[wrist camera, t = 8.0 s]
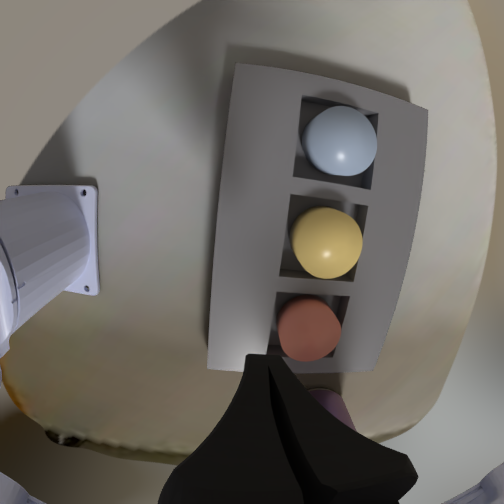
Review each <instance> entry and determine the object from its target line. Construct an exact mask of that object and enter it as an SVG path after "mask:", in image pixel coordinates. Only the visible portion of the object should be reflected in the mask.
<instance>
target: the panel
mask: <svg viewBox="0 0 504 504" xmlns="http://www.w3.org/2000/svg"><path fill="white" fill-rule="evenodd" d="M335 106H346V107H350V108H353V109H355V110H357V111H359V112H361V113H362V114H363V115H364V116H365V117H366V118H367V119H368V120H369V121H370V123H371V124H372V126H373V128H374V130H375V133H376V138H377V151H376V155H375V158H374V160H373V162H372V163H371V165H370V166H369V167H368V168H367V169H366V170H364V171H363V172H361V173H359V174H356V175H351V176H342V175H329V174H325V173H323V172H321V171H319V170H317V169H316V168H314V167H313V166H312V165H311V164H310V162H309V161H308V160H307V158H306V156H305V154H304V151H303V147H302V135H303V132H304V129H305V127H306V125H307V124H308V123H309V122H310V120H312V119H313V118H314V117H316V116H317V115H319V114H320V113H322V112H323V111H325V110H327V109H329V108H331V107H335ZM427 128H428V110H427V109H425V108H422V107H420V106H417V105H415V104H412V103H410V102H407V101H404V100H402V99H399V98H396V97H393V96H390V95H387V94H384V93H381V92H378V91H375V90H372V89H369V88H366V87H362V86H359V85H355V84H352V83H348V82H344V81H340V80H336V79H332V78H328V77H324V76H319V75H315V74H310V73H305V72H300V71H294V70H288V69H282V68H276V67H269V66H261V65H253V64H243V63H236V64H235V70H234V77H233V84H232V91H231V99H230V106H229V114H228V122H227V130H226V138H225V146H224V155H223V164H222V173H221V183H220V193H219V203H218V213H217V224H216V236H215V248H214V261H213V274H212V288H211V304H210V321H209V340H208V362H207V369H215V370H227V371H242V372H243V371H244V364H245V356H246V355H247V354H268V355H280V356H281V357H282V358H283V359H284V361H285V362H286V364H287V365H288V367H289V368H290V369H291V371H292V372H293V373H342V372H360V371H373V370H374V367H375V365H376V362H377V360H378V357H379V354H380V352H381V349H382V346H383V344H384V341H385V338H386V335H387V332H388V329H389V326H390V323H391V320H392V317H393V314H394V311H395V308H396V304H397V301H398V298H399V294H400V291H401V287H402V284H403V280H404V276H405V272H406V268H407V264H408V260H409V256H410V251H411V247H412V242H413V238H414V233H415V227H416V222H417V217H418V211H419V205H420V198H421V191H422V184H423V176H424V167H425V157H426V145H427ZM314 206H328V207H331V208H333V209H336V210H338V211H341V212H343V213H345V214H347V215H349V216H350V217H352V218H353V219H354V220H355V222H356V223H357V224H358V226H359V228H360V231H361V234H362V250H361V254H360V256H359V259H358V260H357V262H356V263H355V265H354V266H353V267H352V268H351V269H350V270H349V271H348V272H346V273H345V274H343V275H341V276H339V277H336V278H331V279H323V278H318V277H315V276H313V275H311V274H310V273H308V272H307V271H306V270H305V269H304V268H303V266H302V265H301V263H300V262H299V260H298V259H297V257H296V256H295V254H294V253H293V251H292V249H291V246H290V231H291V227H292V225H293V223H294V221H295V219H296V218H297V217H298V216H299V215H300V214H301V213H302V212H303V211H305V210H306V209H308V208H311V207H314ZM301 295H315V296H318V297H320V298H322V299H323V300H325V301H326V302H327V304H328V305H329V307H330V308H331V310H332V311H333V313H334V314H335V316H336V317H337V319H338V321H339V323H340V326H341V336H340V339H339V342H338V344H337V345H336V347H335V348H334V349H333V350H332V351H331V352H330V353H329V354H327V355H326V356H324V357H322V358H320V359H318V360H314V361H307V362H304V361H297V360H294V359H292V358H290V357H289V356H288V355H287V354H286V353H285V352H284V351H283V349H282V346H281V343H280V339H279V335H278V331H277V326H276V319H277V315H278V313H279V311H280V309H281V308H282V306H283V305H284V304H285V303H287V302H288V301H289V300H291V299H293V298H295V297H297V296H301Z"/></svg>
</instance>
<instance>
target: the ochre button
mask: <svg viewBox="0 0 504 504" xmlns="http://www.w3.org/2000/svg"><path fill="white" fill-rule="evenodd" d="M290 246H291V249H292V251H293V253H294V254H295V256H296V257H297V259H298V260H299V262H300V263H301V265H302V266H303V268H304V269H305V270H306V271H307V272H308V273H310V274H311V275H313V276H315V277H318V278H323V279H331V278H336V277H339V276H341V275H343V274H345V273H346V272H348V271H349V270H350V269H351V268H352V267H353V266H354V265H355V263H356V262H357V260H358V259H359V256H360V254H361V250H362V234H361V231H360V228H359V226H358V224H357V223H356V222H355V220H354V219H353V218H352V217H350V216H349V215H347V214H345V213H343V212H341V211H338V210H336V209H333V208H331V207H328V206H314V207H311V208H308V209H306V210H305V211H303V212H302V213H301V214H300V215H299V216H298V217H297V218H296V219H295V221H294V223H293V225H292V227H291V231H290Z"/></svg>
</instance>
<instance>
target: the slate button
mask: <svg viewBox="0 0 504 504" xmlns="http://www.w3.org/2000/svg"><path fill="white" fill-rule="evenodd" d="M302 147H303V151H304V154H305V156H306V158H307V160H308V161H309V162H310V164H311V165H312V166H313V167H314V168H316V169H317V170H319V171H321V172H323V173H325V174H329V175H342V176H351V175H356V174H359V173H361V172H363V171H364V170H366V169H367V168H368V167H369V166H370V165H371V163H372V162H373V160H374V158H375V155H376V151H377V138H376V133H375V130H374V128H373V126H372V124H371V123H370V121H369V120H368V119H367V118H366V117H365V116H364V115H363V114H362V113H361V112H359V111H357V110H355V109H353V108H350V107H346V106H335V107H331V108H329V109H327V110H325V111H323V112H322V113H320V114H319V115H317V116H316V117H314V118H313V119H312V120H310V122H309V123H308V124H307V125H306V127H305V129H304V132H303V135H302Z"/></svg>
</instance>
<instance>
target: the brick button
mask: <svg viewBox="0 0 504 504" xmlns="http://www.w3.org/2000/svg"><path fill="white" fill-rule="evenodd" d="M276 326H277V331H278V335H279V339H280V343H281V346H282V349H283V351H284V352H285V353H286V354H287V355H288V356H289V357H290V358H292V359H294V360H297V361H304V362H307V361H314V360H318V359H320V358H322V357H324V356H326V355H327V354H329V353H330V352H331V351H332V350H333V349H334V348H335V347H336V345H337V344H338V342H339V339H340V336H341V326H340V323H339V321H338V319H337V317H336V316H335V314H334V313H333V311H332V310H331V308H330V307H329V305H328V304H327V302H326V301H325V300H323V299H322V298H320V297H318V296H315V295H301V296H297V297H295V298H293V299H291V300H289V301H288V302H287V303H285V304H284V305H283V306H282V308H281V309H280V311H279V313H278V315H277V319H276Z"/></svg>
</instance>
